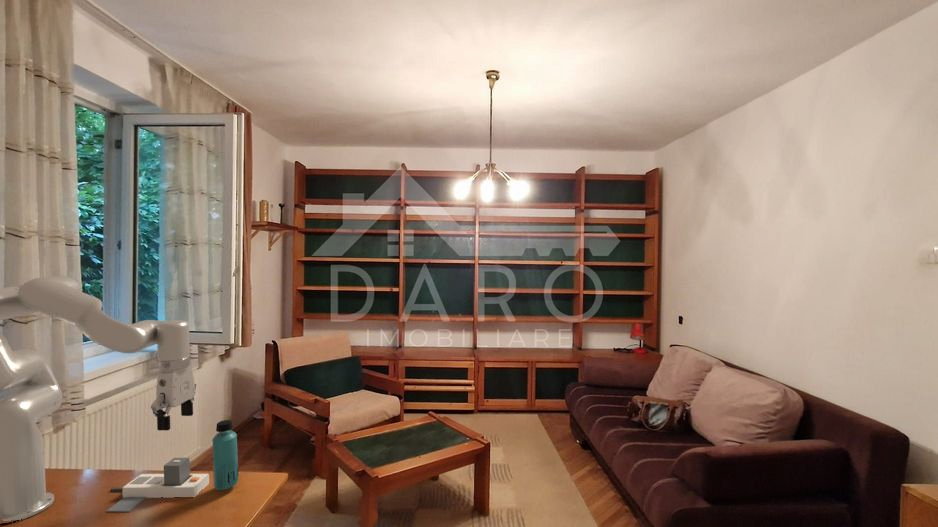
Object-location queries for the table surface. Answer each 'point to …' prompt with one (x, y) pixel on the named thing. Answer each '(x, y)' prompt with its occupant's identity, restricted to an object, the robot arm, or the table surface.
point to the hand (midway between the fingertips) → (176, 422)
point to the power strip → (155, 486)
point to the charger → (176, 472)
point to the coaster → (126, 504)
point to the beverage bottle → (225, 456)
